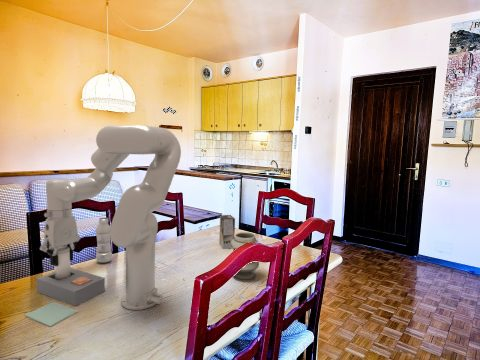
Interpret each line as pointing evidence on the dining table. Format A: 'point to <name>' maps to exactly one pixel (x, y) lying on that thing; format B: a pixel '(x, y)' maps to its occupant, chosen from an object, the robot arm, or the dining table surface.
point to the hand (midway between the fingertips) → (62, 262)
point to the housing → (70, 287)
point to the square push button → (81, 281)
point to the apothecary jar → (246, 272)
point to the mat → (51, 314)
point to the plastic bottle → (103, 241)
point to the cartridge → (63, 263)
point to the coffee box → (226, 231)
